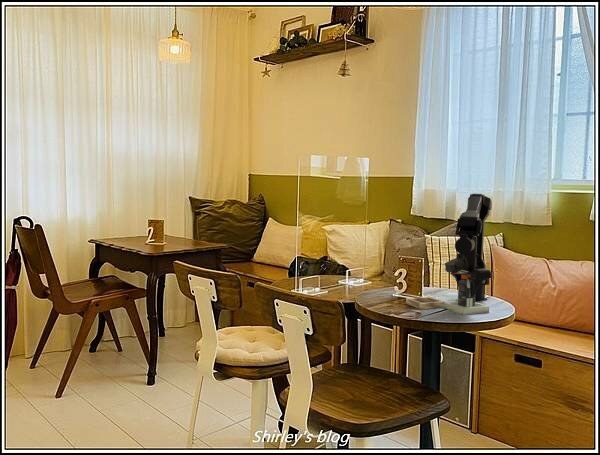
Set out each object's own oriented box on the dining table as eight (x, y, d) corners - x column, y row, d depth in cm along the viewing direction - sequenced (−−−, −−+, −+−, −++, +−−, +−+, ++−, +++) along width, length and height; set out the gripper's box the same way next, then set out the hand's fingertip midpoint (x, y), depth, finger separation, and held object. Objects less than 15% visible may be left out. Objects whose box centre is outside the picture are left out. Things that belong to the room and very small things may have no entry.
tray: (469, 305, 213) (469, 300, 213) (489, 312, 203) (489, 306, 203) (444, 308, 209) (444, 302, 209) (463, 314, 199) (463, 308, 199)
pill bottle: (475, 308, 203) (476, 276, 202) (458, 307, 204) (459, 275, 203) (474, 304, 208) (475, 273, 207) (457, 303, 210) (458, 272, 209)
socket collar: (428, 301, 220) (429, 296, 220) (444, 307, 210) (444, 301, 210) (406, 303, 216) (406, 298, 216) (421, 309, 207) (421, 303, 207)
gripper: (433, 248, 210) (432, 291, 211) (466, 255, 193) (464, 301, 194) (458, 247, 214) (457, 289, 216) (493, 254, 197) (491, 299, 198)
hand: (466, 294), depth 206 cm, fingers closed on pill bottle, 6 cm apart
